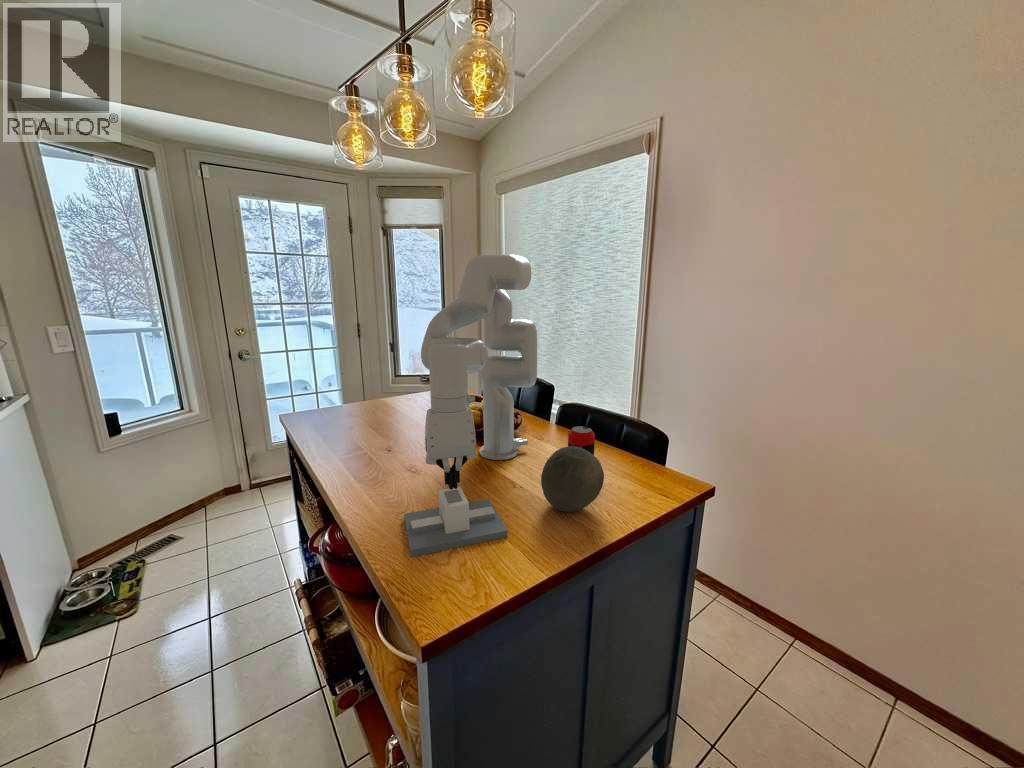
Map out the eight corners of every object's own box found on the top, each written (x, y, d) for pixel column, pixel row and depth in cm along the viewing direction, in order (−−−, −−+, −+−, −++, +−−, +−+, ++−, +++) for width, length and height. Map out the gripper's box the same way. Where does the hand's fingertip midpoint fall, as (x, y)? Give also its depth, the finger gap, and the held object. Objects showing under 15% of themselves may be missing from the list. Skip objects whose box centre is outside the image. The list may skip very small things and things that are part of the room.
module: (461, 510, 92) (460, 485, 91) (469, 529, 85) (468, 502, 83) (439, 514, 90) (438, 489, 89) (445, 534, 83) (444, 506, 82)
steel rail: (491, 511, 92) (491, 506, 92) (495, 517, 89) (495, 512, 89) (411, 525, 86) (410, 520, 86) (412, 533, 83) (412, 528, 83)
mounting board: (489, 504, 98) (489, 498, 97) (507, 536, 85) (507, 530, 84) (404, 519, 91) (404, 513, 91) (410, 557, 78) (410, 550, 78)
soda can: (598, 468, 118) (600, 429, 115) (584, 476, 112) (585, 436, 110) (576, 460, 123) (578, 423, 120) (562, 468, 117) (563, 429, 115)
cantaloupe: (560, 530, 87) (561, 466, 84) (531, 500, 100) (531, 443, 96) (613, 516, 92) (617, 455, 89) (579, 489, 105) (581, 435, 102)
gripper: (480, 396, 87) (481, 474, 91) (410, 401, 83) (414, 484, 86) (490, 404, 80) (491, 488, 84) (413, 411, 76) (418, 500, 80)
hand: (452, 486), depth 85 cm, fingers closed
